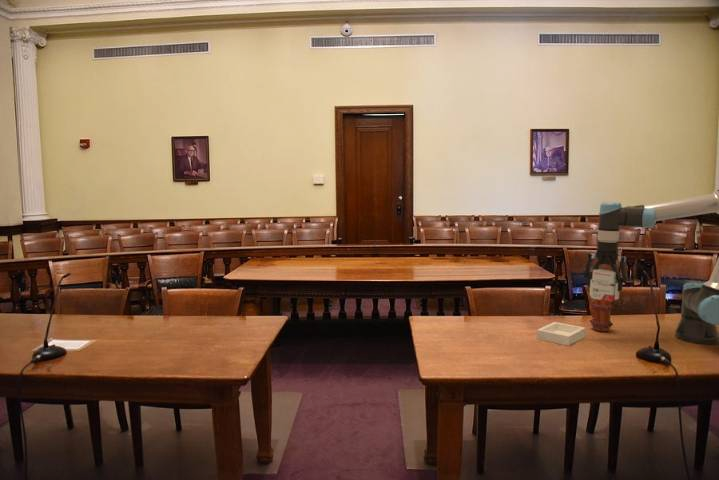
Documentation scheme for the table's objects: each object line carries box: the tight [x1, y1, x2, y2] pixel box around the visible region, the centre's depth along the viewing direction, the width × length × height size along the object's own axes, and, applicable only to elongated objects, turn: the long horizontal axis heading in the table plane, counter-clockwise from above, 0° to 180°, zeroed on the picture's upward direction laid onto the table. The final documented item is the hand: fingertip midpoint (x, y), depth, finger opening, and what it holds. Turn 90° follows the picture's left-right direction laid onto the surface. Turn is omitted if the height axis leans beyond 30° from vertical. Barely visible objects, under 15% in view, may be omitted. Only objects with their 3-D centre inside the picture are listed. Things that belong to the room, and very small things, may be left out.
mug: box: [588, 296, 614, 333], centre depth 217 cm, size 15×8×15 cm, turn 179°
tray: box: [536, 321, 586, 347], centre depth 204 cm, size 13×17×4 cm
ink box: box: [590, 268, 618, 303], centre depth 199 cm, size 8×5×12 cm, turn 39°
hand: (603, 296), depth 199 cm, fingers closed on ink box, 9 cm apart
